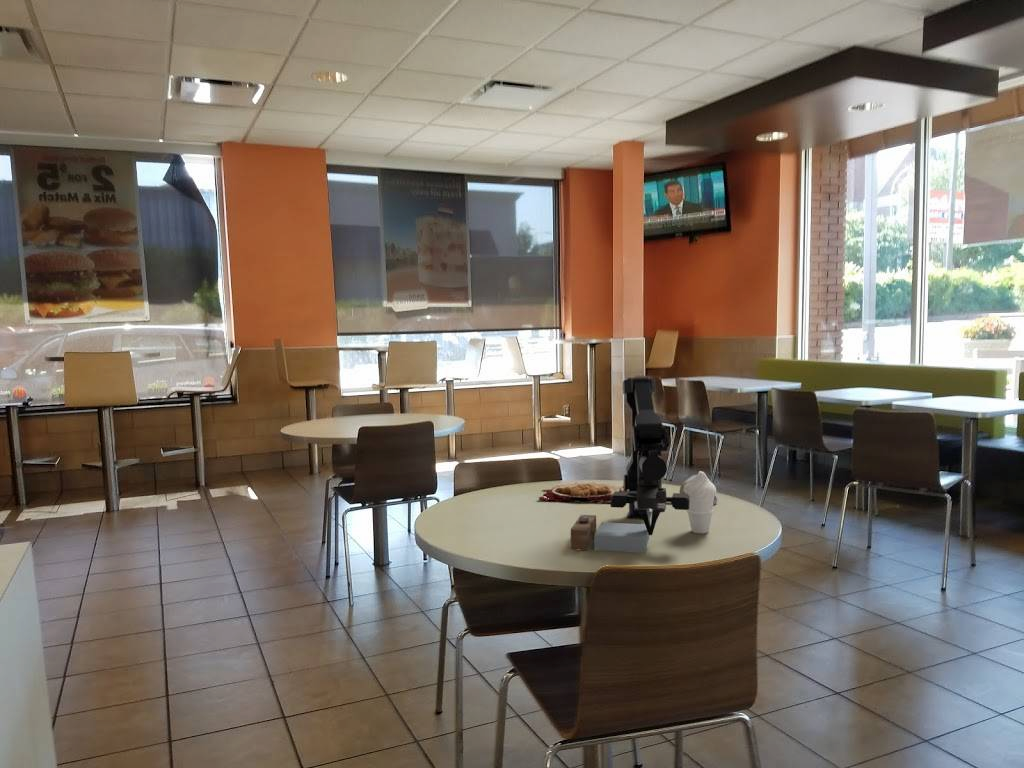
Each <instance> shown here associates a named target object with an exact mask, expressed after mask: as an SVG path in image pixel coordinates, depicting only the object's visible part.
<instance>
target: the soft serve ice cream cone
mask: <svg viewBox="0 0 1024 768" xmlns="http://www.w3.org/2000/svg"><path fill="white" fill-rule="evenodd" d="M696 475H697V476H695V477H693V478H691V479H690V480H688V481H687V483H686V484H685V485H684V489H683V491H684V492H685V494H688V495H689V496H690V506H689V510H686V512H687V516H688V521H689V524H690V525H689V526H690V529H691V532H692V533H694V534H707V533H709V532H710V525H711V520H712V515H713V513H714V508H713V507H714V505H713V500H714V496H716V494H717V488H716V486H715V485H714V483H713V482H712V481H711V480H710V479H709V477H708V476H707V475H706V473H705V472H704V471H701V470H699V472H698V473H697V474H696Z"/></svg>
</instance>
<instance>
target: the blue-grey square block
mask: <svg viewBox="0 0 1024 768" xmlns="http://www.w3.org/2000/svg"><path fill="white" fill-rule="evenodd" d="M649 541H650V535H649V534H648V531H647V529H646V526H645V523H623V522H601V523H600V525H599V526H598V528H597V529H596V533H595V535H594V540H593V542H594V543H593V546H594V549H593V550H594V551H604V550H609V551H610V552H625V553H628V552H629V553H642V554H643V553H644V554H645V552H646V550H647V546H648V543H649Z"/></svg>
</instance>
